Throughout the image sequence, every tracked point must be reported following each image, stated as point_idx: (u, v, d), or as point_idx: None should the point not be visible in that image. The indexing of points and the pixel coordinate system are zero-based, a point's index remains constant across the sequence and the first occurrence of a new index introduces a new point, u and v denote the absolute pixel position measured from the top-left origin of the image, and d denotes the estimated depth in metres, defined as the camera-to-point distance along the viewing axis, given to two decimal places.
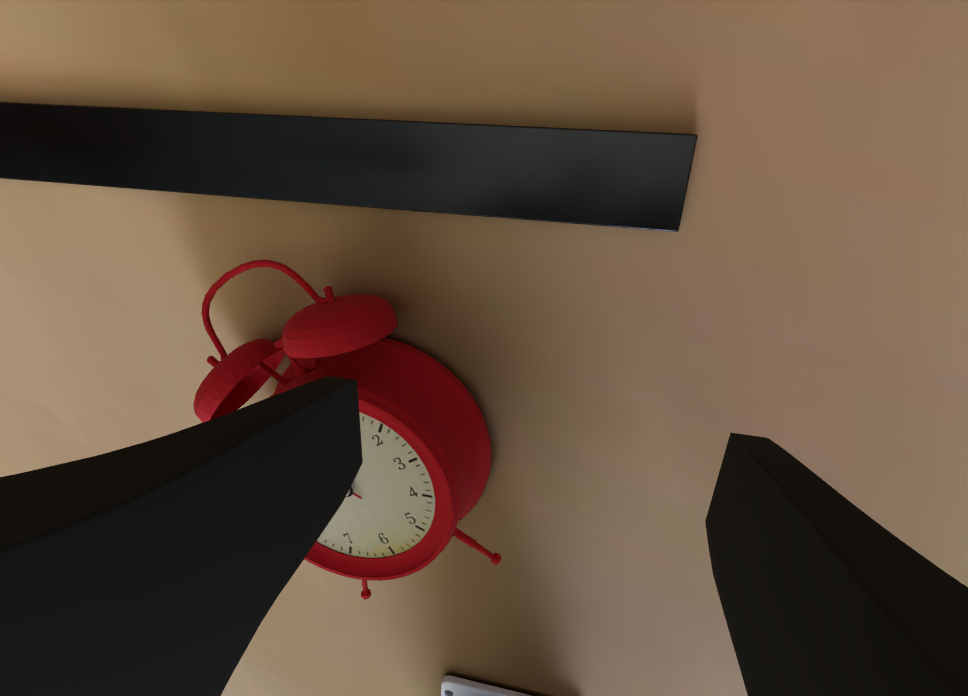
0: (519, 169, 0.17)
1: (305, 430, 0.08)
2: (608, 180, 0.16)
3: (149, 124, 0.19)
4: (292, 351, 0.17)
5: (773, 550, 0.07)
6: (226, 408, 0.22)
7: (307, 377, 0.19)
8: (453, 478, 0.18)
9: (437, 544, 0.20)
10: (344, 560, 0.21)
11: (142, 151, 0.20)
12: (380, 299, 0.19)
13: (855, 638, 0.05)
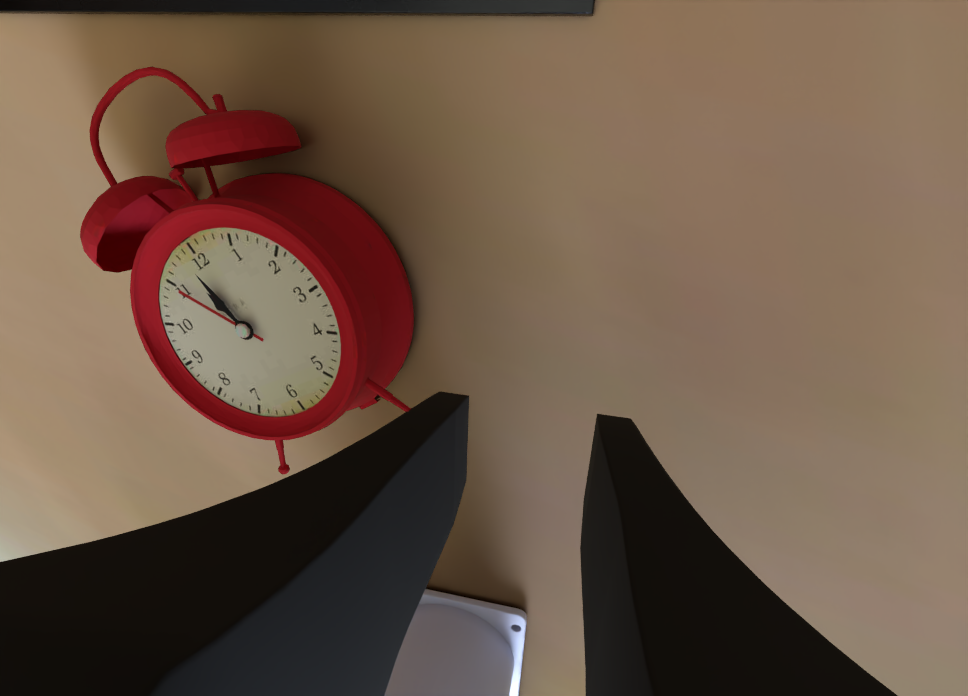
0: None
1: (437, 451, 0.08)
2: None
3: None
4: (173, 157, 0.16)
5: (601, 519, 0.07)
6: (128, 262, 0.20)
7: None
8: (356, 307, 0.17)
9: (346, 390, 0.18)
10: (253, 421, 0.20)
11: None
12: (278, 115, 0.17)
13: (617, 590, 0.05)
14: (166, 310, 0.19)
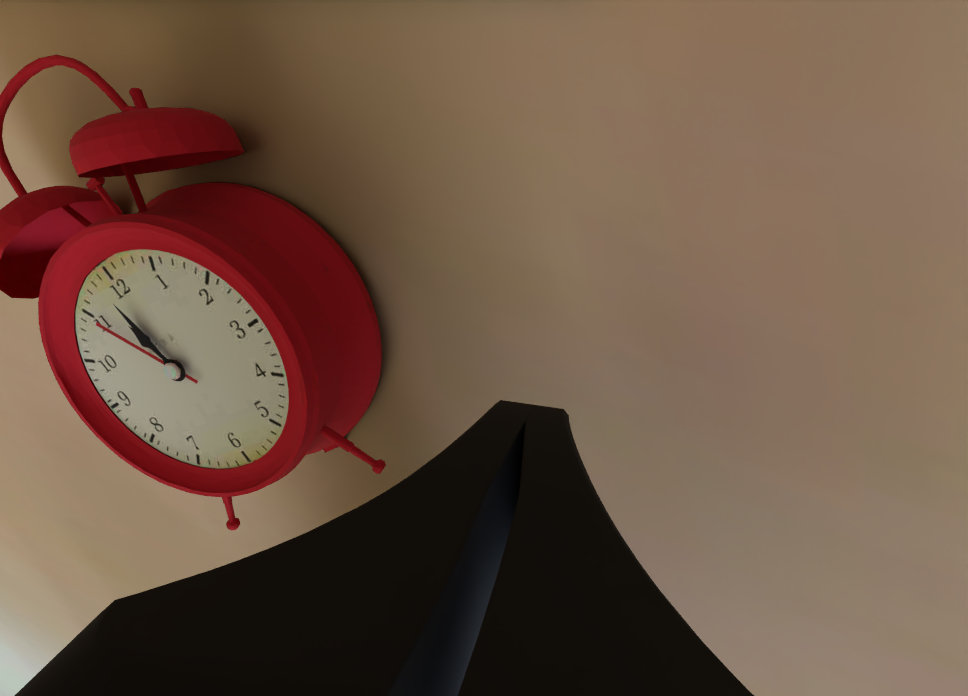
0: None
1: (512, 464, 0.08)
2: None
3: None
4: (76, 164, 0.13)
5: None
6: None
7: None
8: (304, 345, 0.14)
9: (296, 442, 0.15)
10: (192, 473, 0.17)
11: None
12: (213, 114, 0.14)
13: None
14: (85, 345, 0.16)
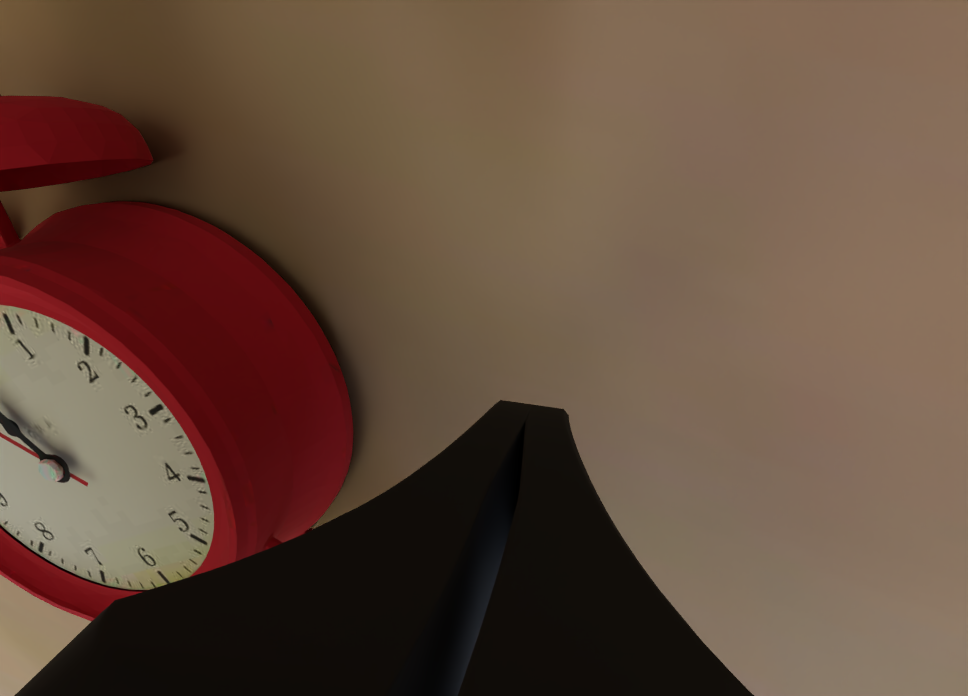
0: None
1: (512, 463, 0.08)
2: None
3: None
4: None
5: None
6: None
7: None
8: (229, 444, 0.10)
9: None
10: (97, 593, 0.12)
11: None
12: (99, 106, 0.10)
13: None
14: None
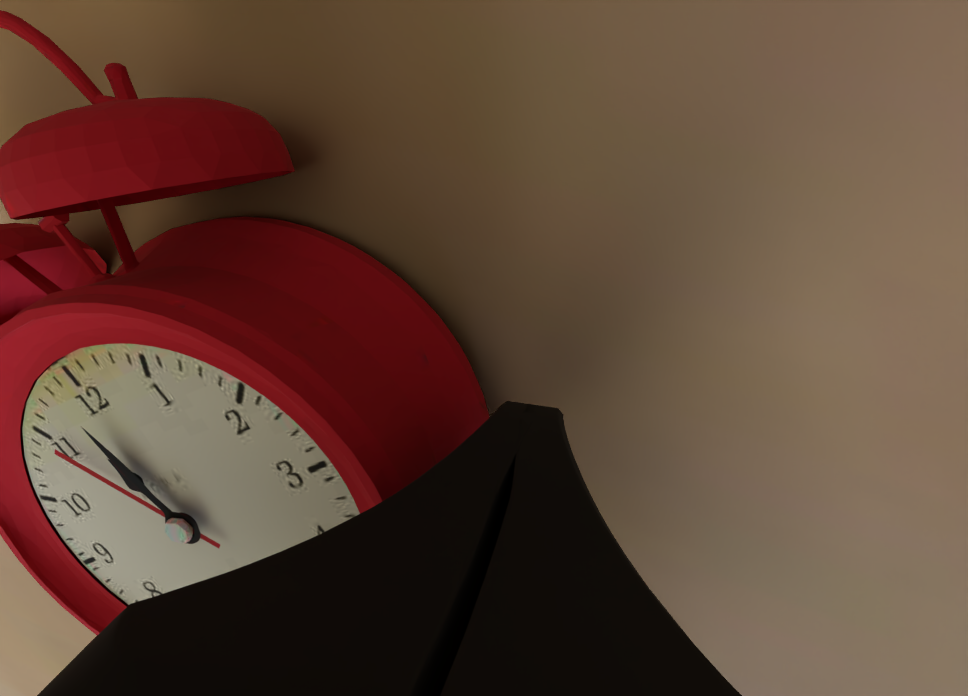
0: None
1: None
2: None
3: None
4: (6, 201, 0.07)
5: None
6: None
7: (89, 284, 0.09)
8: None
9: None
10: None
11: None
12: (247, 109, 0.08)
13: None
14: (40, 477, 0.10)
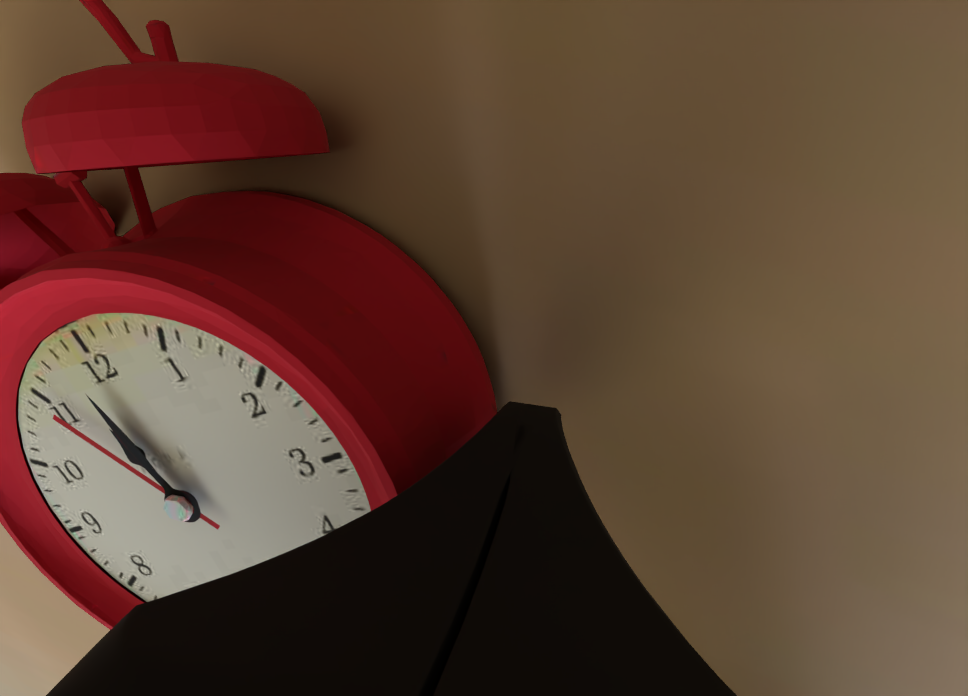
0: None
1: None
2: None
3: None
4: (33, 155, 0.07)
5: None
6: None
7: (107, 248, 0.08)
8: None
9: None
10: None
11: None
12: (291, 84, 0.08)
13: None
14: (32, 440, 0.10)
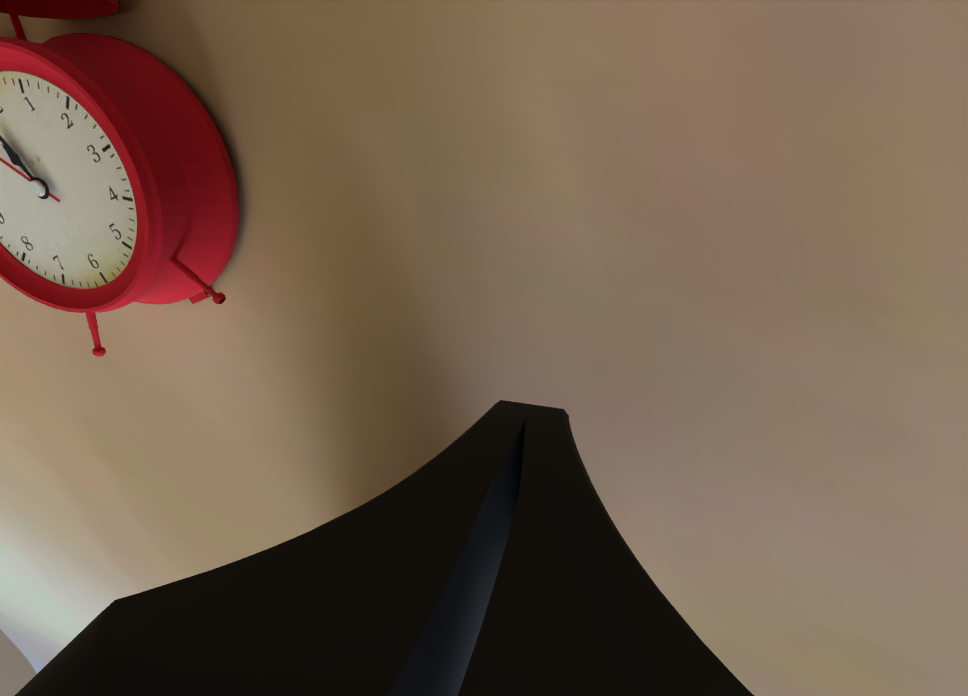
0: None
1: (512, 463, 0.08)
2: None
3: None
4: None
5: None
6: None
7: None
8: (148, 171, 0.17)
9: (142, 262, 0.18)
10: (58, 292, 0.19)
11: None
12: None
13: None
14: None
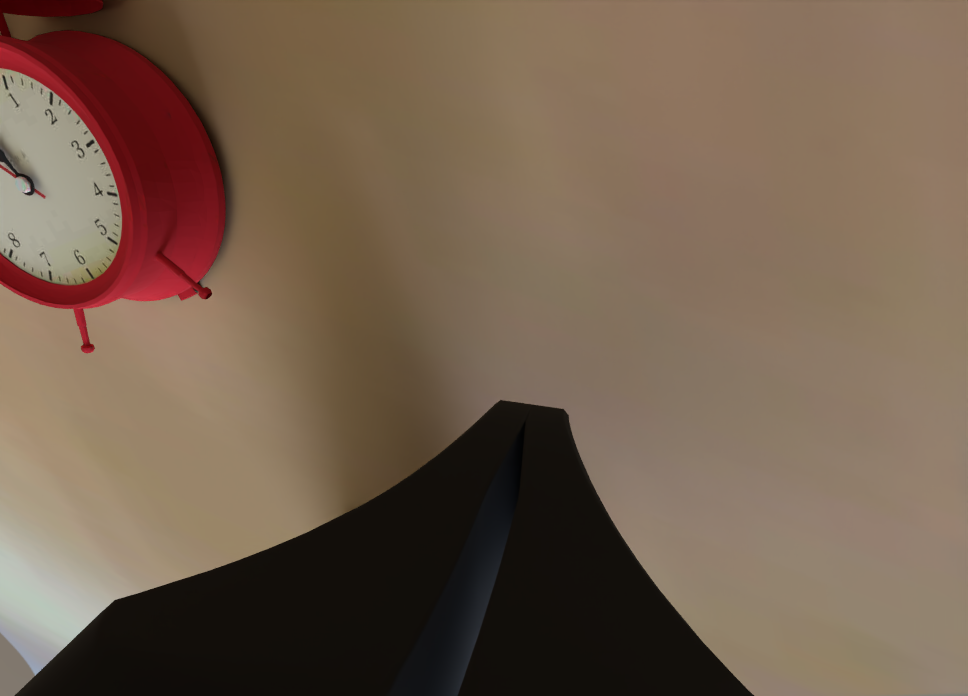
0: None
1: (512, 463, 0.08)
2: None
3: None
4: None
5: None
6: None
7: None
8: (131, 166, 0.17)
9: (127, 257, 0.18)
10: (45, 288, 0.19)
11: None
12: None
13: None
14: None
